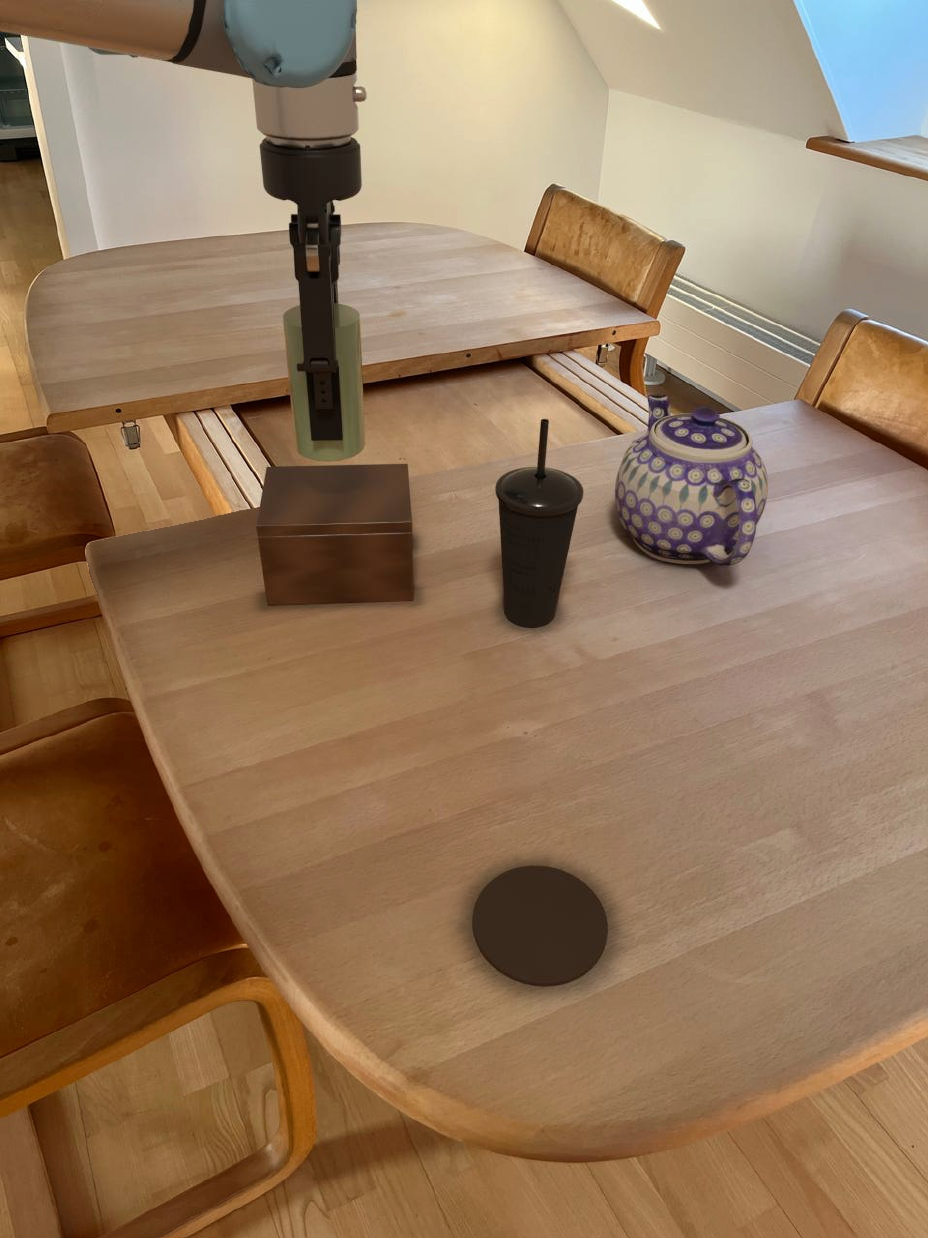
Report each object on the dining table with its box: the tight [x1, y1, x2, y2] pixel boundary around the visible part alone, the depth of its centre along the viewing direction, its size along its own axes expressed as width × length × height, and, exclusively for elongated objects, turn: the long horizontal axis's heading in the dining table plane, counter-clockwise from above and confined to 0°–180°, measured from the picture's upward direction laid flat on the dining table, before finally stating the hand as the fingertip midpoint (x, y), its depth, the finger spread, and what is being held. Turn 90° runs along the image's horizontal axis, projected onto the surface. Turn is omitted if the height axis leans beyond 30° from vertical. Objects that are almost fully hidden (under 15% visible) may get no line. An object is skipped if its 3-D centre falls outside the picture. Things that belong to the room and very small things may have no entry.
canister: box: [282, 303, 366, 462], centre depth 82 cm, size 6×6×12 cm
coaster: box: [471, 865, 609, 987], centre depth 62 cm, size 9×9×1 cm
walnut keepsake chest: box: [255, 463, 414, 606], centre depth 92 cm, size 14×11×9 cm
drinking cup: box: [494, 418, 585, 629], centre depth 83 cm, size 8×8×20 cm
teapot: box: [614, 394, 769, 567], centre depth 96 cm, size 25×15×15 cm, turn 9°
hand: (328, 420), depth 84 cm, fingers closed on canister, 6 cm apart
